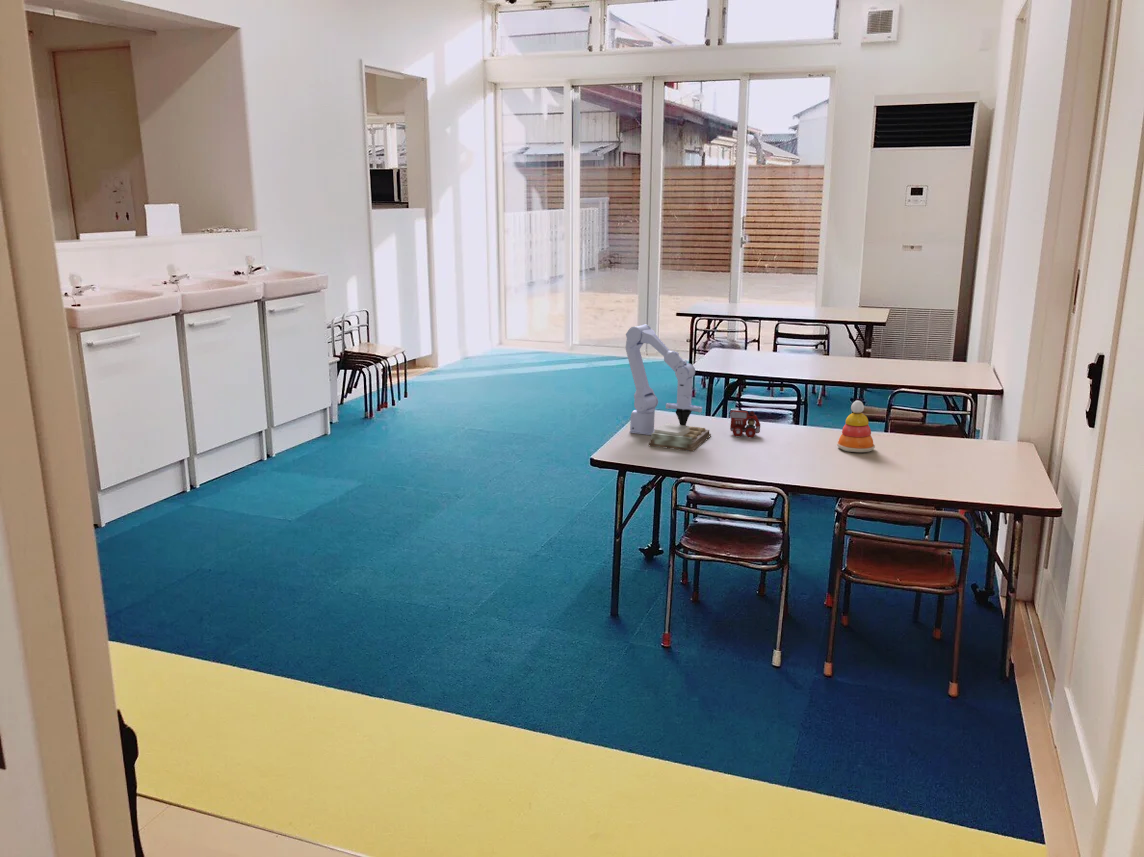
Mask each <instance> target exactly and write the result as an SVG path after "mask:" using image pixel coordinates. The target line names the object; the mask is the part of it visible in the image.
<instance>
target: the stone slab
mask: <svg viewBox="0 0 1144 857" xmlns="http://www.w3.org/2000/svg"><path fill="white" fill-rule="evenodd" d="M689 430H690V426H689V425H686V426H684V425H680V424H676V423H668V422H666V423H663V424H662V425H660V426H658V427H656V428H654V433H660V434H668V435H677V436H684V435H685V434H687V433H689Z"/></svg>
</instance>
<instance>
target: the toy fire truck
mask: <svg viewBox="0 0 1144 857" xmlns="http://www.w3.org/2000/svg"><path fill="white" fill-rule="evenodd" d="M729 417H730V424H729V425H730V428H729V429H730V432H732V434H733V436H734V437H736V436H740V437H742V436H743V434H744V433H745V436H746V437H747V438H749V437H752V438H754V437H756V434H759V433H761V423H760V420H759V418H758V416H757V415H756V414H755V411H754V410H751V411H749V412H748V411H746V410H734V409H733V410H732V409H731V410H730V414H729Z"/></svg>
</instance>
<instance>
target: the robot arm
mask: <svg viewBox="0 0 1144 857" xmlns="http://www.w3.org/2000/svg"><path fill="white" fill-rule="evenodd" d="M625 338H626V341H625V351H626V355H627V359H628V363H629V367H630V371H631V375H632V379H633V383H634V386H635V392H634V394H633V398H634V401H633V405H634V410H632V412H631V414H630V424H629V426H630V427H629V428H630V430H629V433H631V434H638V435H647V436H652V433H654V429H655V415H656V414H655V411H656V408H657V406H658V405H659V398H658V397H657V396H656V394H655V391H654V389H653V388H652V387H651V386H650V385H649V381H648V375H647V373H646V369H645V365H644V362H643V357H642V354H641V353H642V352H641V348H642V347H643V345H644V344H649V345H651V347H652V348H654V349H655V351H657V352H658V353H659V354H661V356H663V362H665V364H666V365H668V367H670V368H671V370H673V371H674V373H675V377H676V379H677V389H676V390H677V391H676V392H677V393H676V403H671V402H667V403H665V409H667V410H669V409H670V410H671V409H672V410H675V415H676V416H677V419H678V422H679V425H684V426H687V422H688V420H689V417H690V415H691V414H692V412H697V413H702V412H703V406H699V405H694V404H692V397H693V396H692V394H693V377H695V374H696V368H695V367H694V365H693V364H692V363H688V362H687V361H686V360H684V359H683V357H681V356H680V352H678V351H676V350H670V348H669V347H668V346H666V344H665V343H664V342H663V341H662V340H661V338H660V337H659V336H658V335H657V334H656V331H655V330H654V329H653V328H651V326H650V325H648V324H646V323H645V324H644V323H643V324H641V325H636V326H631V327H629V329H628V330H627V332H626V333H625Z"/></svg>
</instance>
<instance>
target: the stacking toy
mask: <svg viewBox="0 0 1144 857" xmlns="http://www.w3.org/2000/svg"><path fill="white" fill-rule="evenodd" d="M850 409H851V412H852V413H850V414H849V415H848V416H847V417H846V419H845V421H844V422H845V424H844V426H843V427H842V431H841V434H840V436H839V438H838V441H836V445H837V447H838V448H839V449H841V450H843V451H844V452H847V453H851V452H852V453H869V452H873V450H874V449H875V448H876V444H874V439H873V437H872V430H871V426H869V419H868V416H867V415H865V414H864V413H862V412H864V410H865V406H864V403H863V402H862V401H861V400H857V399H856V400H855V401H853V403H852V404H851V406H850Z"/></svg>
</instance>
